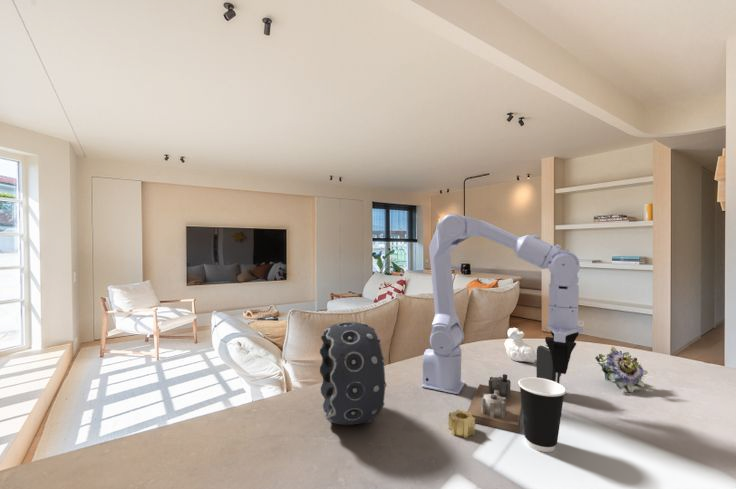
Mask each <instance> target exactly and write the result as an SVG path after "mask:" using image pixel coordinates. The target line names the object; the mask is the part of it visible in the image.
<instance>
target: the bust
mask: <svg viewBox="0 0 736 489" xmlns="http://www.w3.org/2000/svg"><path fill="white" fill-rule="evenodd" d="M506 334H507V337H508V338H507V339H505V342H504V343H503V345H504V347H505V350H506V351H505V352H506V353H505V354H507V356H508V357H509V358H510V359H511V360H512V361H516V362H525V363H531V364H532V363H535V362H536V358H537V352H535V349H534V347H533V346H531V345H528V344H527V343H525V341H524V340H523V337H524V336H525V333H524V332H523V330H522V331H520V329H519V328H516V327H510V328H509V329H507V333H506Z"/></svg>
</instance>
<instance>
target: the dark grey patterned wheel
mask: <svg viewBox="0 0 736 489" xmlns="http://www.w3.org/2000/svg"><path fill="white" fill-rule="evenodd" d="M322 331H323V332H322V334H321V335H320V336H321V337H320V339H321V341H322V344H321V346H320V348H319V354H320V355H321V358H322V360H321V364H320V366H319V374H320V375H321V377H322V383H321V385H320V387H319V389H320V394H321V395H322V396H323V398H324V401H323V404H322V411H324V412H325V413H326V414H325V415H324V416H325V417H324V418H325V419H326V420H327V421H328V422H331V423H333V424H337V425H342V426H344V425H346V426H347V425H359V424H363V423H370V422H372V421H373V419H374V418H375V417H376V416H379V415H380V414H381V412H382V409H383V407H384V406H385V394H386V387H387V383H386V370H385V363H386V360H385V358H384V355H383V349H382V344H381V338H379V336H378V334H377V332H376V329H375V327H373V326H370V325H368V324H367V323H366V322H356V321H345V322H344V321H343V322H339V323H338V322H337V323H335V324H332V325H330V326H328V327H326V328H325V329H323V330H322Z"/></svg>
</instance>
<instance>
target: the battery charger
mask: <svg viewBox="0 0 736 489" xmlns="http://www.w3.org/2000/svg"><path fill="white" fill-rule="evenodd" d="M535 362H536V366H535V367H536V378H543V379H548V380H551V381H554V382H557V383H559V384H560V380H561V376H562V373H557V372H555V371H554V368H553V363H552V357H551V353H550V350H549V348H548V346H547V344H545V345H544V344H543V345H542V344H540V345H538V346H537V348H536V360H535Z"/></svg>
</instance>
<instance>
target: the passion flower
mask: <svg viewBox="0 0 736 489" xmlns="http://www.w3.org/2000/svg"><path fill="white" fill-rule="evenodd" d="M605 357H606V358H605ZM604 358H605V359H604ZM595 360H596V361H597V362H598V363H597V364H598V365H599V366H601V371H602V372H603V374H604V379H605V381H614V382H615V385H616V387H618V389H619V390H622V389H625V391H626V392H628V393H630V394H632V393H633V392H634V391H635V389H634V388H635V385H637V386H638V387H641V388H644V387H645V383H644V382H643V380H644V378H645V376H644V375H647V374H649V373H648V370H646V369H644V368H643V366H642V365H641V364H642V363H641V361H638V358H637V357H632V355H630V352H629V351H626V352H623V351H622V350H619V351H618V350H617V349H616V347H615V346H613V345H611V346H610V352H609V353H608V354H602V353H599V354H598V355H596V356H595ZM642 377H644V378H642Z"/></svg>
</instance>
